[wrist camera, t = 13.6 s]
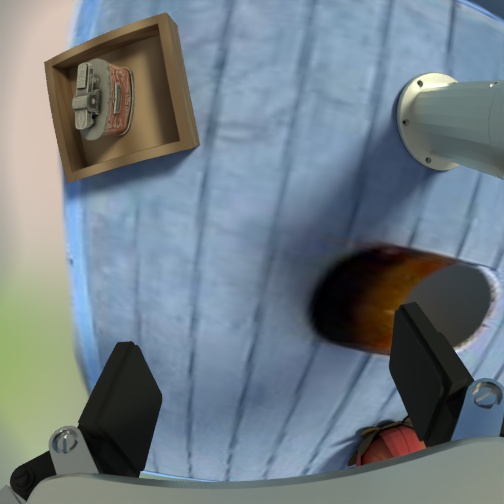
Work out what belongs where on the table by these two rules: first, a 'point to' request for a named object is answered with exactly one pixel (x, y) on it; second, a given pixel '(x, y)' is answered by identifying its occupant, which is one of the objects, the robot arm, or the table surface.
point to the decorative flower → (387, 443)
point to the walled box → (146, 98)
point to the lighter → (104, 99)
